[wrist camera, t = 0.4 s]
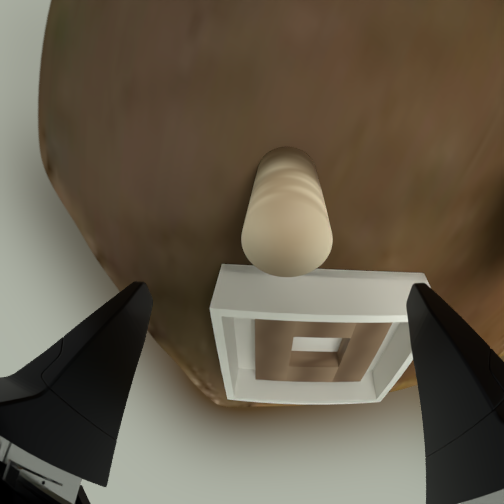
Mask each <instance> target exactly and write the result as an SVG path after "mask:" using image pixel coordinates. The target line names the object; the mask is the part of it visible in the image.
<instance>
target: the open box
mask: <svg viewBox="0 0 504 504" xmlns="http://www.w3.org/2000/svg"><path fill="white" fill-rule="evenodd" d="M414 283H425V284H427V285H428V286H429V287H430V285H429V283H428V281H427V279H426V276H425V274H424V273H410V272H383V271H358V270H334V269H315V270H313V271H312V272H309V273H307V274H304V275H301V276H296V277H278V276H273V275H270V274H267V273H265V272H263V271H261V270H259V269H258V268H257V267H255V266H253V265H235V264H222V265H221V269H220V272H219V276H218V279H217V283H216V286H215V290H214V293H213V297H212V300H211V304H210V308H209V309H210V314H211V320H212V325H213V331H214V336H215V341H216V346H217V351H218V356H219V361H220V366H221V371H222V376H223V380H224V385H225V390H226V394H227V399H229V400H238V401H249V402H262V403H278V404H355V403H372V402H380V401H381V400H382V399H383V398H384V397H385V396H386V394H387V393H388V392H389V391H390V389H391V388H392V387H393V386H394V384H395V383H396V382H397V380H398V379H399V378H400V377H401V375H402V374H403V373H404V371H405V370H406V369H407V367H408V366H409V364H410V363H411V362H412V360H413V355H412V350H411V343H410V334H409V325H408V317H407V309H406V302H407V299H408V296H409V293H410V290H411V287H412V285H413V284H414ZM430 288H431V287H430ZM255 319H265V320H283V321H305V322H345V323H387V322H393V323H392V325H391V327H390V329H389V331H388V333H387V335H386V337H385V339H384V340H383V342H382V344H381V346H380V348H379V350H378V352H377V353H376V355H375V357H374V359H373V361H372V362H371V364H370V366H369V368H368V369H367V371H366V373H365V374H364V376H363V378H362V379H361V381H359V382H291V381H271V380H256V379H255ZM341 340H342V338H312V337H294V338H293V344H292V350H291V351H320V352H337V351H338V348H339V346H340V343H341Z"/></svg>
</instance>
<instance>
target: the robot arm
mask: <svg viewBox="0 0 504 504" xmlns="http://www.w3.org/2000/svg"><path fill="white" fill-rule="evenodd" d="M152 306H153V299H152V296H151V294H150V292H149V289H148V287H147V285H146V283H145V282H137V281H136V282H133V283H131V284H130V285H129V286H127V287H126V288H125V289H123V290H122V291H121V292H120V293H118V294H117V295H116V296H115V297H113V298H112V299H110V300H109V301H108V302H106V303H105V304H104V305H103V306H101V307H100V308H99V309H98V310H96V311H95V312H94V313H92V314H91V315H90V316H89V317H87V318H86V319H85V320H83V321H82V322H81V323H80V324H78V325H77V326H76V327H75V328H74V329H72V330H71V331H70V332H69V333H67V334H66V335H65V336H64V338H61V339H60V340H59V341H57V342H56V343H55V344H54V345H53V346H51V347H50V348H49V349H47V350H46V351H45V352H44V353H42V354H41V355H40V356H38V357H37V358H35V359H34V360H33V361H31V362H30V363H28V364H27V365H26V366H24V367H23V368H22V369H20V370H19V371H17V372H16V373H15V374H12V375H10V376H8V377H2V378H0V504H90V502H89V500H88V498H87V496H86V493H85V491H84V489H83V487H82V485H80V484H81V480H82V479H85V480H87V481H90V482H92V483H95V484H98V485H100V486H103V487H106V486H107V482H108V477H109V473H110V468H111V463H112V459H113V454H114V450H115V446H116V440H117V436H118V433H119V429H120V425H121V421H122V417H123V413H124V409H125V406H126V402H127V398H128V394H129V391H130V388H131V384H132V381H133V377H134V374H135V371H136V367H137V364H138V361H139V358H140V355H141V351H142V348H143V345H144V342H145V337H146V333H147V328H148V324H149V319H150V315H151V310H152ZM406 309H407V317H408V325H409V334H410V343H411V350H412V355H413V360H414V366H415V371H416V377H417V383H418V389H419V396H420V403H421V411H422V420H423V430H424V441H425V457H426V504H458V503H461V504H504V362H503V361H502V359H501V358H500V357H499V356H498V355H497V354H496V353H495V352H494V351H493V350H492V349H490V346H489V345H488V344H487V343H486V342H485V341H484V340H483V339H482V338H481V337H480V336H479V335H478V334H477V333H476V332H475V331H474V330H473V329H472V328H471V327H470V326H469V325H468V323H467V322H466V321H465V320H464V319H463V318H462V317H460V316H459V315H458V314H457V313H456V312H455V311H454V310H453V309H452V308H451V307H450V306H449V305H448V304H447V303H446V302H445V301H444V300H443V299H442V298H441V297H440V296H439V295H438V294H437V293H435V292H434V291H433V290H432V289H431V288H430V287H429V286H428V285H427V284H425V283H414V284H413V285H412V287H411V290H410V293H409V296H408V299H407V302H406Z"/></svg>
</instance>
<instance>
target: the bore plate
mask: <svg viewBox="0 0 504 504" xmlns="http://www.w3.org/2000/svg"><path fill="white" fill-rule="evenodd" d="M392 323H393V322H387V323H345V322H305V321H283V320H265V319H255V379H256V380H271V381H291V382H359V381H361V379H362V378H363V376H364V374H365V373H366V371H367V369H368V368H369V366H370V364H371V362H372V361H373V359H374V357H375V355H376V353H377V352H378V350H379V348H380V346H381V344H382V342H383V340H384V339H385V337H386V335H387V333H388V331H389V329H390V327H391V325H392ZM294 337H312V338H342V340H341V343H340V346H339V348H338V351H337V352H320V351H291V350H292V344H293V338H294Z"/></svg>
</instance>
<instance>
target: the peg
mask: <svg viewBox="0 0 504 504" xmlns="http://www.w3.org/2000/svg"><path fill="white" fill-rule="evenodd" d="M332 241H333V239H332V232H331V227H330V223H329V219H328V214H327V210H326V206H325V202H324V198H323V194H322V190H321V186H320V182H319V178H318V175H317V171H316V167H315V164H314V162H313V161H312V159H311V158H310V157H309V156H308V155H307V154H306V153H305V152H303V151H302V150H300V149H297V148H294V147H279V148H276V149H274V150H272V151H270V152H268V153H267V154H266V155H265V156H264V157H263V158H262V160H261V161H260V163H259V166H258V170H257V174H256V178H255V182H254V186H253V190H252V194H251V198H250V202H249V206H248V210H247V214H246V218H245V222H244V226H243V230H242V235H241V243H242V248H243V251H244V253H245V255H246V257H247V258H248V260H249V261H250V262H251V263H252V264H253V265H254V266H255V267H257V268H258V269H259V270H261V271H263V272H265V273H267V274H270V275H273V276H278V277H296V276H301V275H304V274H307V273H309V272H312V271H313V270H315V269H316V268H318V267H319V266H320V265H321V264H322V263H323V262H324V261H325V260H326V259H327V257H328V255H329V253H330V251H331V248H332Z"/></svg>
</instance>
